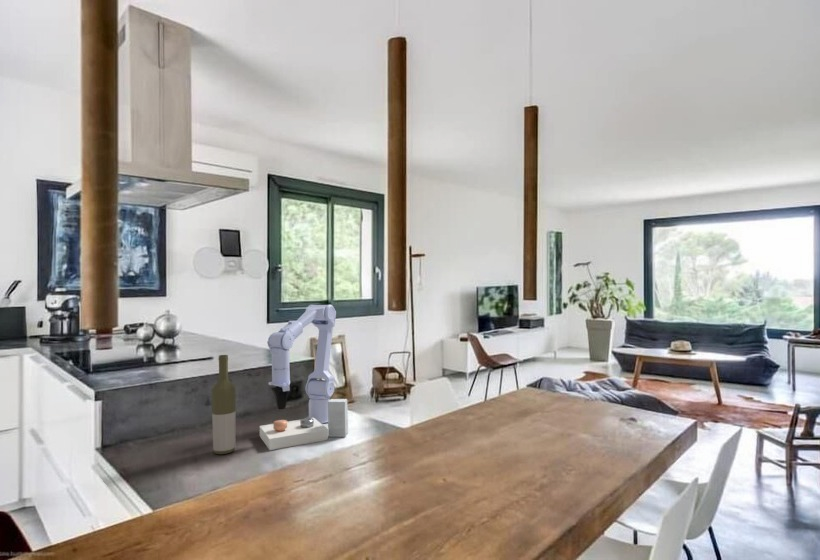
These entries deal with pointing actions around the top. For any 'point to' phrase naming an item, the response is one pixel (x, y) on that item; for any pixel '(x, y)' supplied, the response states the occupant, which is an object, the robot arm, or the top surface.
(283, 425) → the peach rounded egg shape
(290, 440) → the panel
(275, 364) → the robot arm
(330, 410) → the skincare box
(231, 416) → the bottle
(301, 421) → the plug
